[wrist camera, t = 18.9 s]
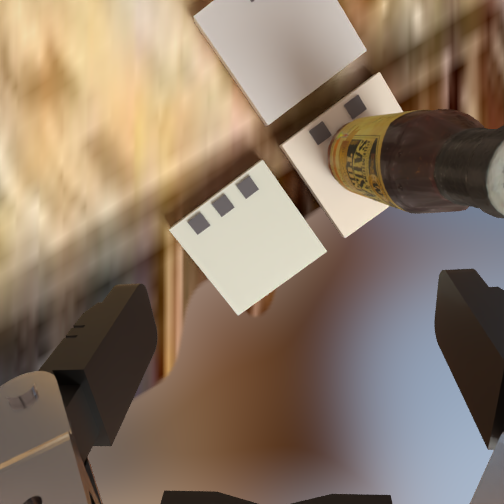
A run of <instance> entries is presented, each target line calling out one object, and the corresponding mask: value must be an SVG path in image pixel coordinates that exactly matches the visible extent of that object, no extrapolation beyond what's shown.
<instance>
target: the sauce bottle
mask: <svg viewBox="0 0 504 504" xmlns="http://www.w3.org/2000/svg"><path fill="white" fill-rule="evenodd" d="M328 166H329V169H330V171H331V174H332V176H333V177H334V179H336V180H337V181H338V183H339V184H340V185H341V186H342V187H343V188H345V189H346V190H348V191H350V192H353V193H355V194H358V195H361V196H364V197H367V198H370V199H372V200H375V201H378V202H380V203H383V204H386V205H389V206H392V207H395V208H398V209H401V210H403V211H407V212H409V213H435V212H451V211H461V210H466V209H467V208H468V207H469V206H473V207H476V208H480V209H481V210H482V211H483V212H485V213H487V214H489V215H492V216H494V217H497V218H504V126H502V127H500V128H498V129H486V128H484V126H483V125H482V124H481V123H480V122H479V121H477V120H476V119H474V118H473V117H471V116H470V115H468V114H465V113H462V112H460V111H456V110H450V109H448V110H447V109H444V110H442V109H438V110H415V111H408V112H400V113H393V114H384V115H376V116H368V117H362V118H358V119H356V120H354V121H352V122H349V123H347V124H345V125H343V126H342V127H341V128H340V129H339V130H338V131H337V132H336V133H335V135H334V136H333V138H332V140H331V142H330V144H329V147H328Z"/></svg>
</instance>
